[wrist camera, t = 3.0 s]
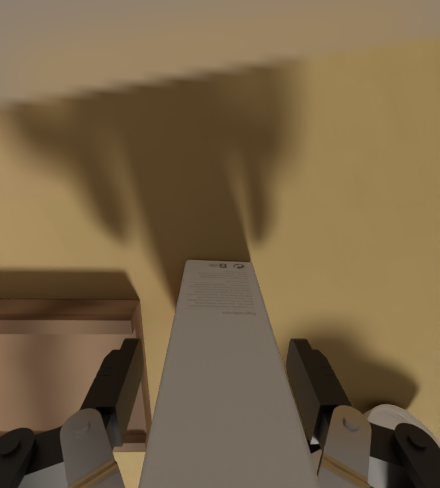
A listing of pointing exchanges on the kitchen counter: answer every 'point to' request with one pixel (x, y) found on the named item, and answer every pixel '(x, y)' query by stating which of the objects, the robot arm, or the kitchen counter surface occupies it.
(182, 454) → the skincare box
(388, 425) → the spread jar
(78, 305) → the board
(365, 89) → the kitchen counter surface
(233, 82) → the kitchen counter surface
